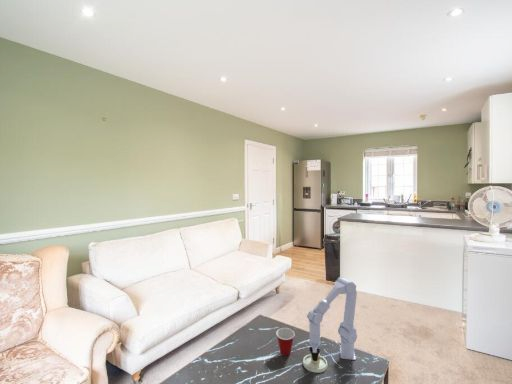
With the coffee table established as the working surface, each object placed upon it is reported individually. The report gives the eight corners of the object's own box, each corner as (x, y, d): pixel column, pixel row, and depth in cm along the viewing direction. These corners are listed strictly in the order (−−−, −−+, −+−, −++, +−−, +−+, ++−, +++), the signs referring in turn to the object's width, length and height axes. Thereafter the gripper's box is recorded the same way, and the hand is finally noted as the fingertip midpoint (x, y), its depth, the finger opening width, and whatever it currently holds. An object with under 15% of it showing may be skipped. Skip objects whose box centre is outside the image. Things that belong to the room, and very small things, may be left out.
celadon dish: (303, 355, 156) (303, 352, 156) (327, 358, 153) (327, 355, 153) (302, 370, 144) (302, 367, 144) (327, 374, 141) (327, 370, 141)
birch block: (311, 357, 151) (311, 349, 151) (319, 358, 150) (319, 350, 150) (311, 362, 147) (311, 354, 147) (319, 363, 146) (319, 355, 146)
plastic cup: (277, 359, 154) (277, 338, 153) (275, 347, 164) (275, 328, 164) (296, 358, 154) (296, 337, 154) (293, 347, 165) (293, 327, 165)
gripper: (307, 325, 156) (308, 349, 156) (306, 339, 142) (307, 365, 142) (320, 327, 154) (320, 350, 155) (320, 341, 140) (320, 367, 141)
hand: (315, 357), depth 149 cm, fingers closed on birch block, 4 cm apart
